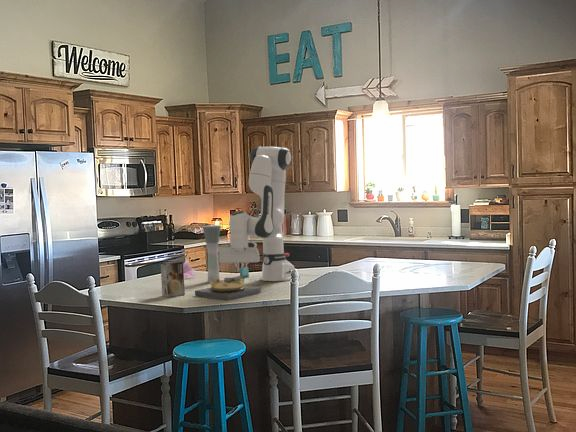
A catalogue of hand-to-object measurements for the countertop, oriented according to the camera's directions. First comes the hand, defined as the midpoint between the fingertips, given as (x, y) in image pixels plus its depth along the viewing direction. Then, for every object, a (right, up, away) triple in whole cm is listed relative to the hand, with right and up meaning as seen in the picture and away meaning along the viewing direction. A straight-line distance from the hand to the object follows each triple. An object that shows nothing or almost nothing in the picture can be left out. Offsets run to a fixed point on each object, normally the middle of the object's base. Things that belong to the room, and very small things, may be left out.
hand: (239, 272), depth 322 cm
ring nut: (-3, -7, -9) cm, 11 cm away
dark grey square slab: (-5, -10, -12) cm, 16 cm away
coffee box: (-31, -11, -9) cm, 34 cm away
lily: (-34, -8, +44) cm, 56 cm away
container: (-16, -8, +29) cm, 34 cm away
